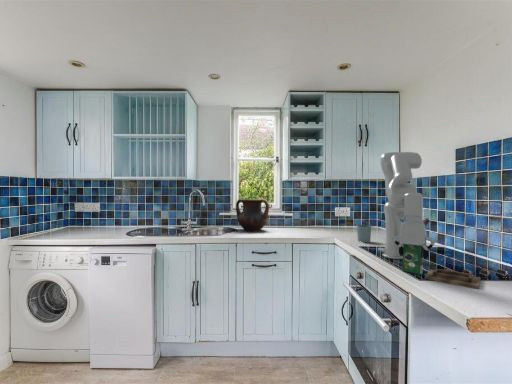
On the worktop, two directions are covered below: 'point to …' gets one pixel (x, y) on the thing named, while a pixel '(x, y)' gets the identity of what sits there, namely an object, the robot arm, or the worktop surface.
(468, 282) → the holder
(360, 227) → the grey-green pot
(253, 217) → the dark brown round pot
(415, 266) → the coffee box
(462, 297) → the worktop surface
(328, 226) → the worktop surface
